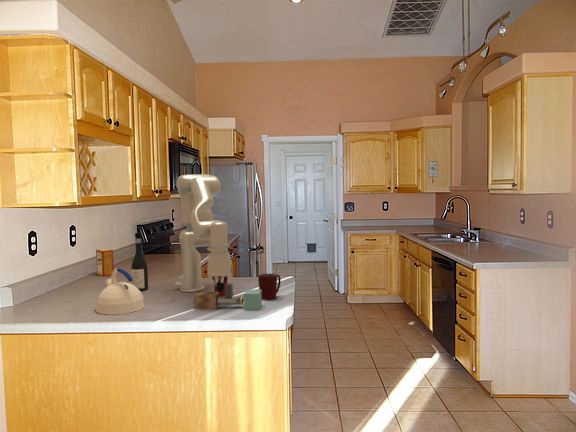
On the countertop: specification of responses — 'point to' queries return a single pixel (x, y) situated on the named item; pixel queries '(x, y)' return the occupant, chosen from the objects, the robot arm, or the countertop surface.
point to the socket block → (252, 300)
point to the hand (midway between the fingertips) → (220, 291)
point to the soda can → (222, 294)
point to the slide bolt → (228, 297)
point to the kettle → (119, 296)
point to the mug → (268, 286)
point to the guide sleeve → (206, 300)
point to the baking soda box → (104, 262)
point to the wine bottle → (139, 267)
